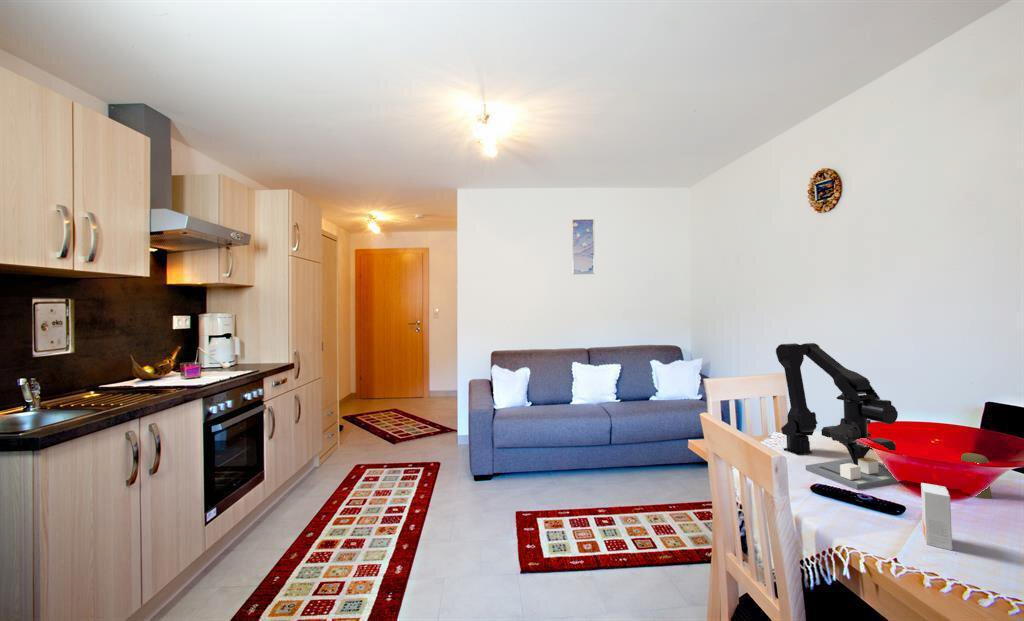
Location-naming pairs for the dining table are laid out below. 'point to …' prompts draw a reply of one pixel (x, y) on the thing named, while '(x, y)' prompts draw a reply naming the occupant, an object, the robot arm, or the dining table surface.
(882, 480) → the panel
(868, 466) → the block
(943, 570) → the dining table surface
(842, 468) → the block
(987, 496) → the cork
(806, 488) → the dining table surface
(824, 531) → the dining table surface
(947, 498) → the skincare box
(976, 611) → the dining table surface
